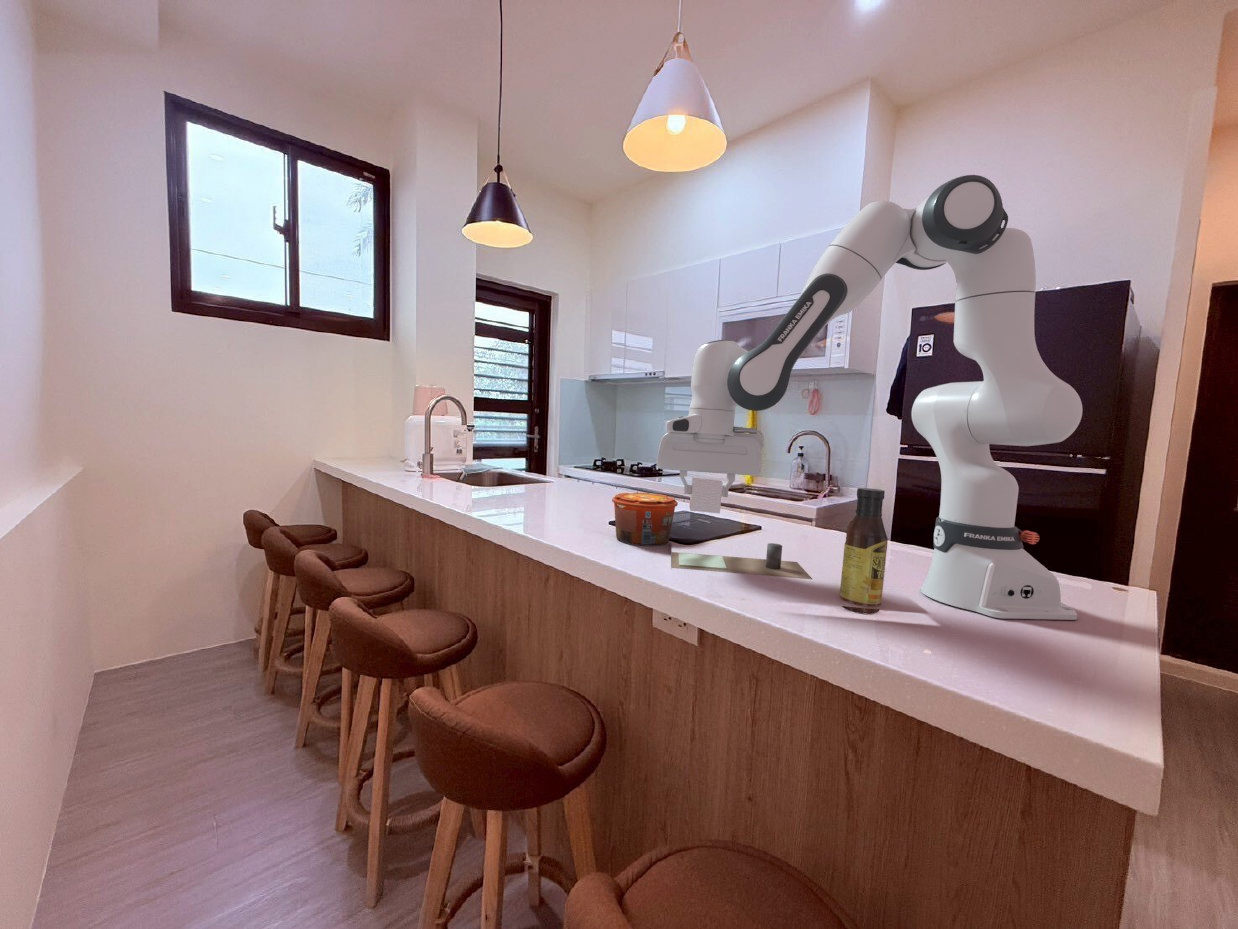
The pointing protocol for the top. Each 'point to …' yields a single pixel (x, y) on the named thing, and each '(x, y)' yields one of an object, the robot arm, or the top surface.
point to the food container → (643, 518)
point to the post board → (741, 564)
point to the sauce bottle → (865, 553)
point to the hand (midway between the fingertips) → (705, 495)
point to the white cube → (706, 495)
